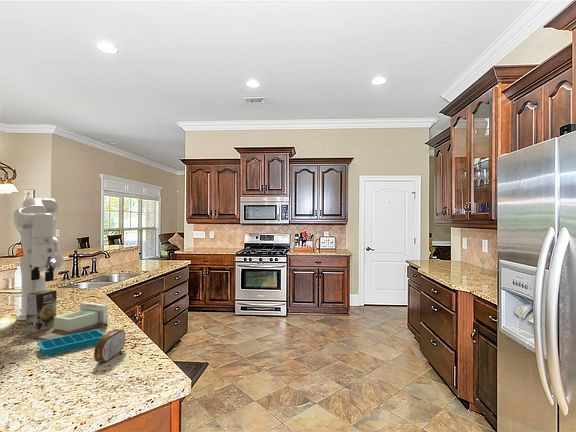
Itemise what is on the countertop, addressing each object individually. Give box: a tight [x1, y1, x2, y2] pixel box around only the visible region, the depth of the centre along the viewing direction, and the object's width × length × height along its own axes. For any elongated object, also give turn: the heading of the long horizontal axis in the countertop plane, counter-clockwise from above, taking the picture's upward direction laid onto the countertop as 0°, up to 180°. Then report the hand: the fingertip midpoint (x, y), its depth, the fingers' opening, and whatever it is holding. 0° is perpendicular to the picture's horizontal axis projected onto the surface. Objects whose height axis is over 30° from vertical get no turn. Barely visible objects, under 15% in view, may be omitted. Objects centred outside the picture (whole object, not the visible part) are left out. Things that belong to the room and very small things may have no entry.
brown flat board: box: [26, 322, 108, 341], centre depth 142 cm, size 16×24×1 cm, turn 156°
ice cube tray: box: [36, 329, 106, 357], centre depth 124 cm, size 12×20×3 cm, turn 135°
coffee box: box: [25, 289, 58, 333], centre depth 145 cm, size 9×6×16 cm
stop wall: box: [79, 301, 109, 324], centre depth 152 cm, size 16×2×8 cm, turn 66°
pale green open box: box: [54, 309, 98, 332], centre depth 145 cm, size 10×13×5 cm
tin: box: [93, 328, 126, 363], centre depth 113 cm, size 15×3×8 cm, turn 178°
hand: (42, 280), depth 145 cm, fingers open, 9 cm apart
